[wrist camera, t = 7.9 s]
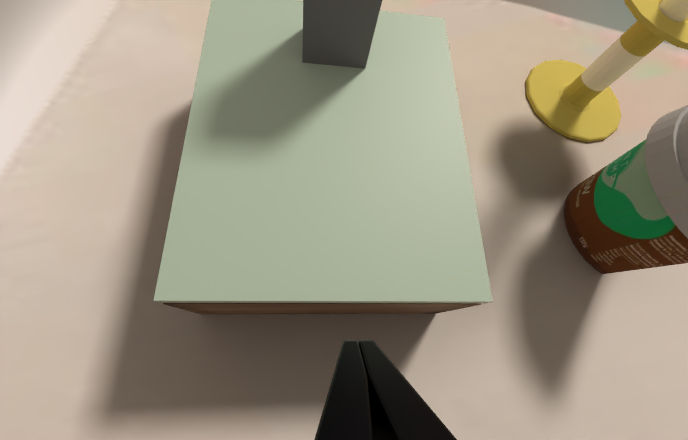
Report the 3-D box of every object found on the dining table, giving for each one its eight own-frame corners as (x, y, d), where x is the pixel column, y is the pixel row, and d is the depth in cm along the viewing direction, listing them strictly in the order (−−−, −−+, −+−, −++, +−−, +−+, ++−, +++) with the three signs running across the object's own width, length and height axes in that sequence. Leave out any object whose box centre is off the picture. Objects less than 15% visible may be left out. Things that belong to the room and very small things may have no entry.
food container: (577, 143, 30) (701, 56, 21) (636, 181, 29) (791, 107, 20) (529, 242, 26) (659, 186, 16) (597, 289, 25) (773, 258, 16)
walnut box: (436, 313, 23) (481, 304, 17) (199, 313, 21) (163, 303, 15) (411, 89, 30) (437, 32, 24) (233, 73, 28) (217, 6, 22)
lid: (484, 303, 17) (659, 267, 9) (160, 302, 15) (-10, 255, 7) (439, 28, 24) (512, -135, 16) (216, 2, 22) (167, -201, 14)
